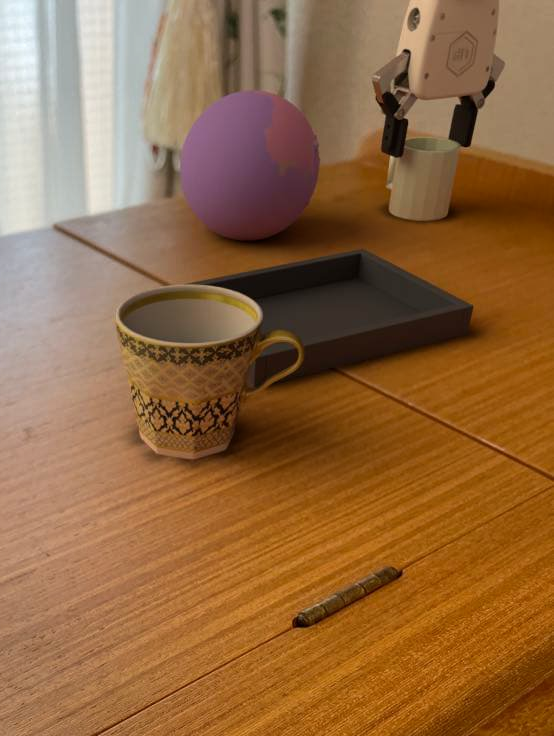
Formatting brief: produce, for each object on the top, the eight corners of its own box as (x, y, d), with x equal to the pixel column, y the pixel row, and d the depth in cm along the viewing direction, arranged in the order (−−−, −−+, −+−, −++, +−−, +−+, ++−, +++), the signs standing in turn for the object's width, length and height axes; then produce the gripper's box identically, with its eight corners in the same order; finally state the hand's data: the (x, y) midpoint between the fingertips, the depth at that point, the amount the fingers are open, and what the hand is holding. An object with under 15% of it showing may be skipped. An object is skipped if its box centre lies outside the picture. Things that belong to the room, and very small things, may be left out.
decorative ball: (320, 260, 93) (337, 107, 84) (179, 261, 93) (180, 108, 84) (304, 215, 105) (317, 76, 95) (179, 216, 105) (180, 78, 96)
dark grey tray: (358, 278, 89) (362, 248, 87) (466, 338, 77) (474, 305, 76) (166, 319, 82) (165, 287, 80) (253, 392, 70) (255, 357, 68)
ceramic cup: (101, 464, 62) (94, 334, 56) (143, 398, 70) (141, 277, 63) (281, 493, 59) (294, 359, 53) (305, 421, 67) (318, 296, 60)
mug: (459, 219, 103) (473, 147, 98) (412, 228, 101) (425, 155, 96) (406, 197, 110) (418, 128, 105) (362, 205, 107) (371, 135, 103)
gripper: (414, -19, 84) (384, 167, 94) (549, -29, 89) (506, 148, 100) (367, -27, 89) (344, 150, 100) (497, -36, 95) (462, 133, 105)
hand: (425, 149), depth 100 cm, fingers open, 9 cm apart
